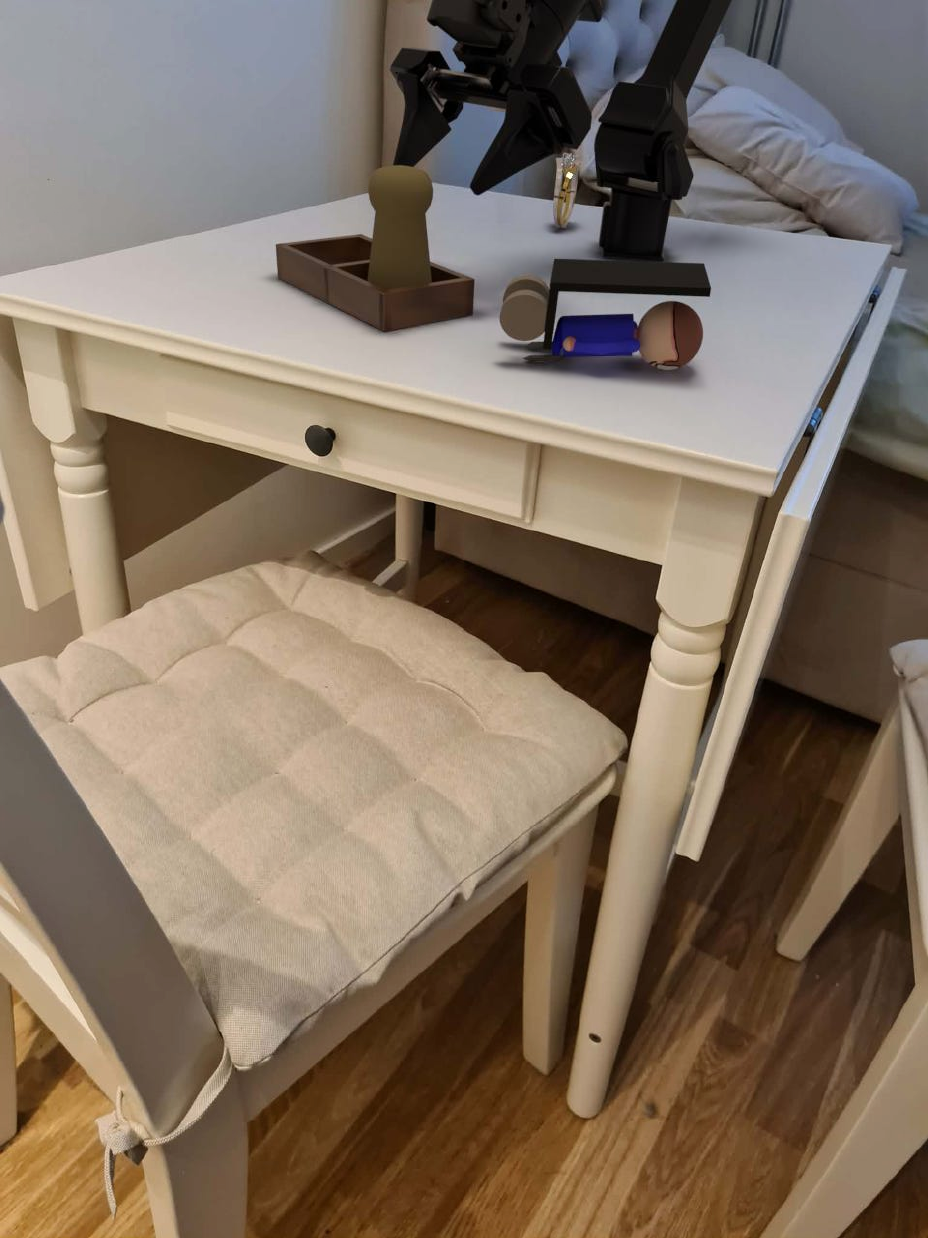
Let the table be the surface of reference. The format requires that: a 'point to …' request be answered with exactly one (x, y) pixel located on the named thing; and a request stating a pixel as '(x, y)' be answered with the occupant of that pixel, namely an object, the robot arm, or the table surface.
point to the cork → (400, 227)
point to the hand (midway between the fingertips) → (433, 181)
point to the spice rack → (343, 283)
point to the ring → (565, 188)
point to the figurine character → (659, 337)
